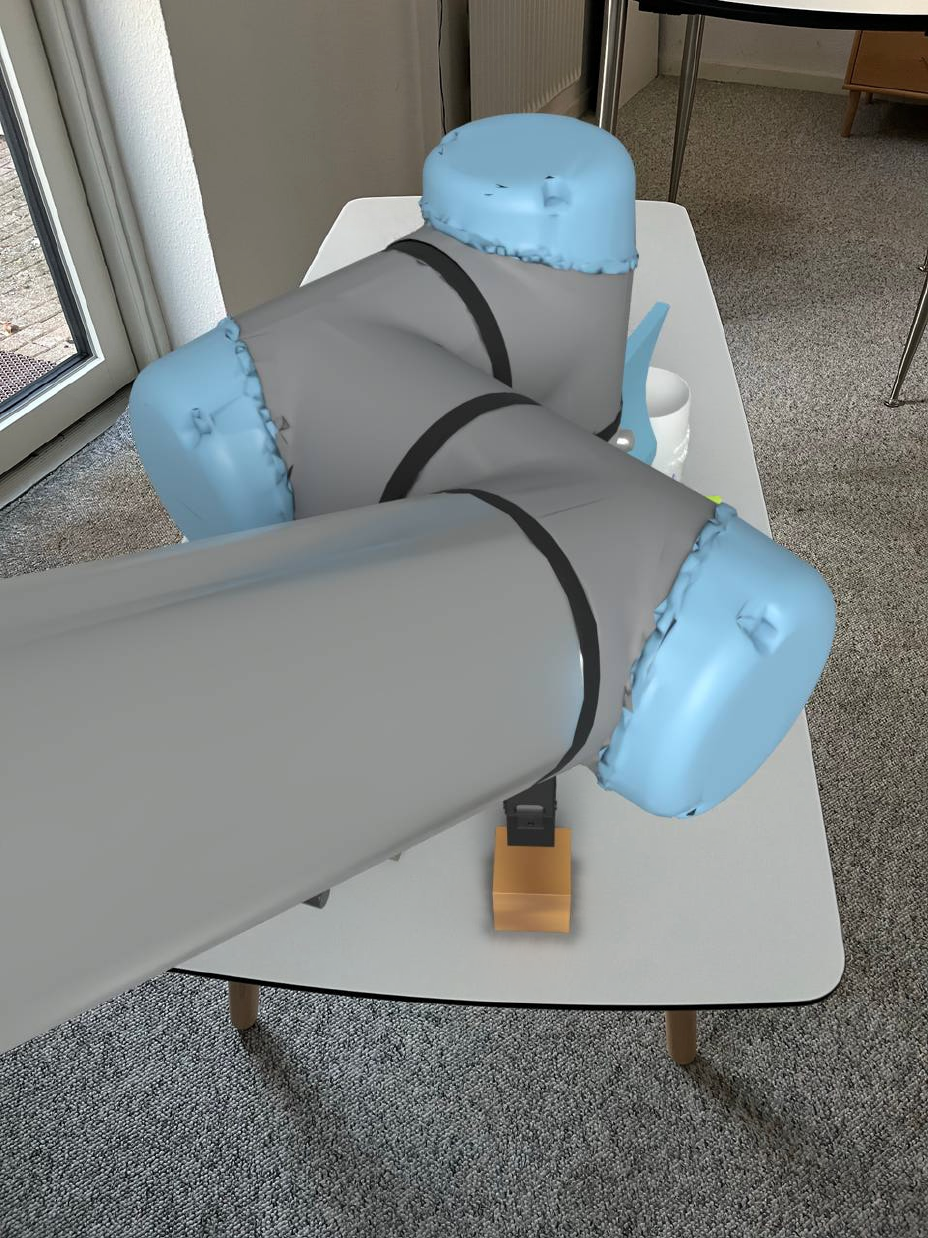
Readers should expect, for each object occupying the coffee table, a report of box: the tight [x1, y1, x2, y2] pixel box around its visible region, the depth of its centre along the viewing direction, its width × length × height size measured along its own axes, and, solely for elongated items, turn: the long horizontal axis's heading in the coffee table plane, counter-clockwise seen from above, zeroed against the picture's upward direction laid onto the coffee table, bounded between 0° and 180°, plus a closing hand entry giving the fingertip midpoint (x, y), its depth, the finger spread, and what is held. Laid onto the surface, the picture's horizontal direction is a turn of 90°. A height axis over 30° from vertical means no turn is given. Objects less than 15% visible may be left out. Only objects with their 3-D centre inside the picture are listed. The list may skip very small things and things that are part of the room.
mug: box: [646, 366, 692, 483], centre depth 99 cm, size 8×12×12 cm
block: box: [491, 825, 572, 934], centre depth 72 cm, size 5×5×5 cm
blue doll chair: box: [620, 301, 671, 466], centre depth 86 cm, size 10×10×25 cm
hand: (532, 790), depth 64 cm, fingers open, 6 cm apart
